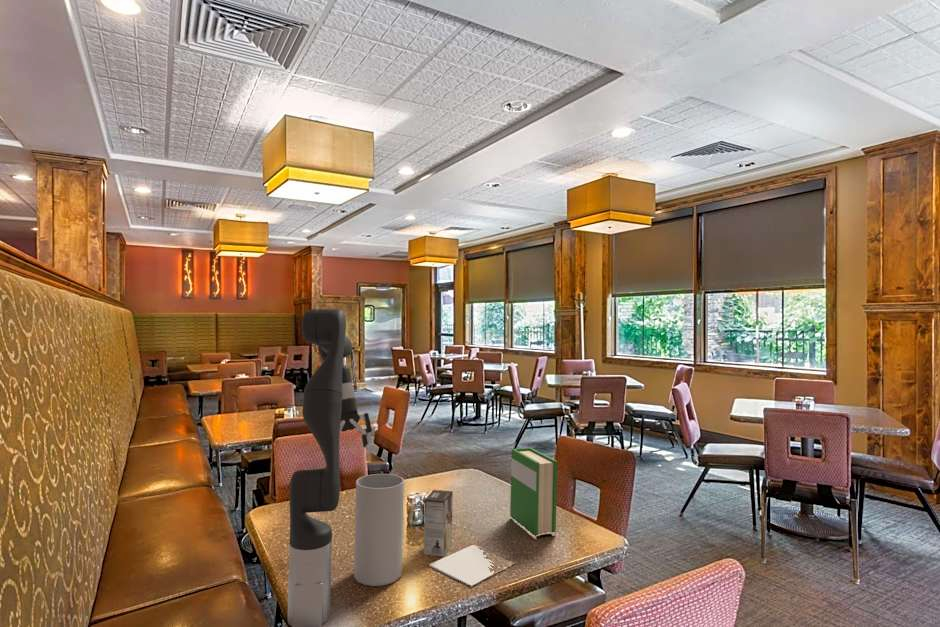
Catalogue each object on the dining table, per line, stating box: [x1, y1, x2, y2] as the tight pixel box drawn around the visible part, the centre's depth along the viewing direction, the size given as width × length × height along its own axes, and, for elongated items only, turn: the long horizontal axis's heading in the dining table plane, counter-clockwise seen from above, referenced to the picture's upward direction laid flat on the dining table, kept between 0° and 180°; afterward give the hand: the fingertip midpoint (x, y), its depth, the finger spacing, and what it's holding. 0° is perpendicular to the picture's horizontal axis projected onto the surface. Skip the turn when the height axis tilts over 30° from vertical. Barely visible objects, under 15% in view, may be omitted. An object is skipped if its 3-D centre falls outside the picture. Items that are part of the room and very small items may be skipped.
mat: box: [428, 544, 500, 586], centre depth 145 cm, size 16×18×1 cm
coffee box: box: [423, 489, 454, 558], centre depth 155 cm, size 9×6×16 cm
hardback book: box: [509, 447, 558, 536], centre depth 172 cm, size 18×7×24 cm, turn 22°
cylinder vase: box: [353, 473, 405, 587], centre depth 138 cm, size 12×12×25 cm
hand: (351, 450), depth 163 cm, fingers open, 8 cm apart
